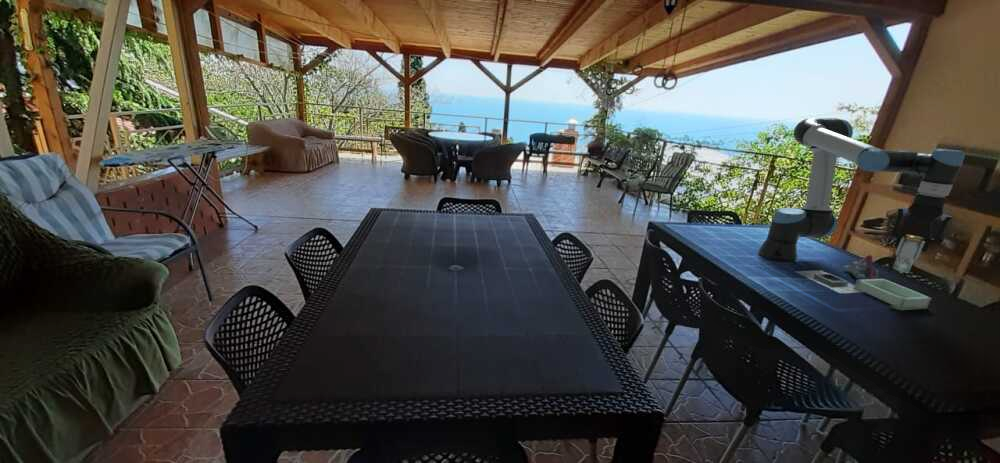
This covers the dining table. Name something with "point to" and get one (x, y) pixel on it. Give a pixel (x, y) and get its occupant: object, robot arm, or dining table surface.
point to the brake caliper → (862, 269)
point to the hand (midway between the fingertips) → (906, 256)
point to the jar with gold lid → (907, 253)
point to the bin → (893, 294)
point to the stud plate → (830, 281)
